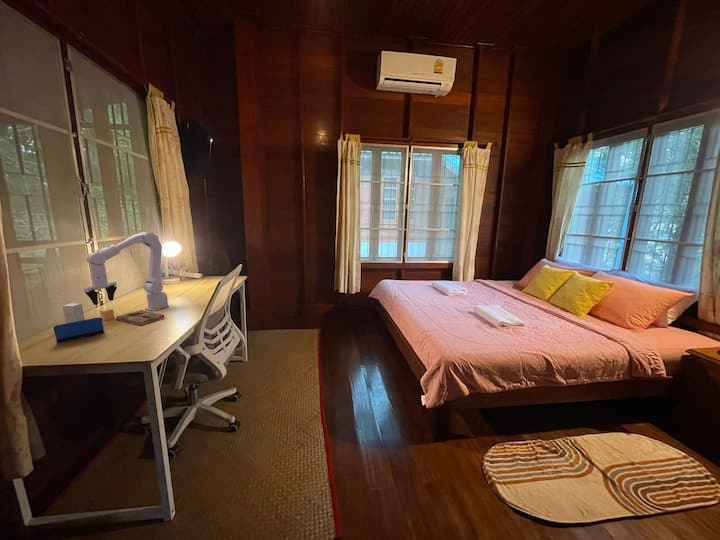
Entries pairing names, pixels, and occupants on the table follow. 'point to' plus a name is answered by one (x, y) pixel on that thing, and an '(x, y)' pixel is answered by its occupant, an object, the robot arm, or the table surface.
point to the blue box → (78, 329)
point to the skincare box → (73, 312)
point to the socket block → (140, 317)
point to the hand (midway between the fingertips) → (103, 302)
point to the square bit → (107, 314)
